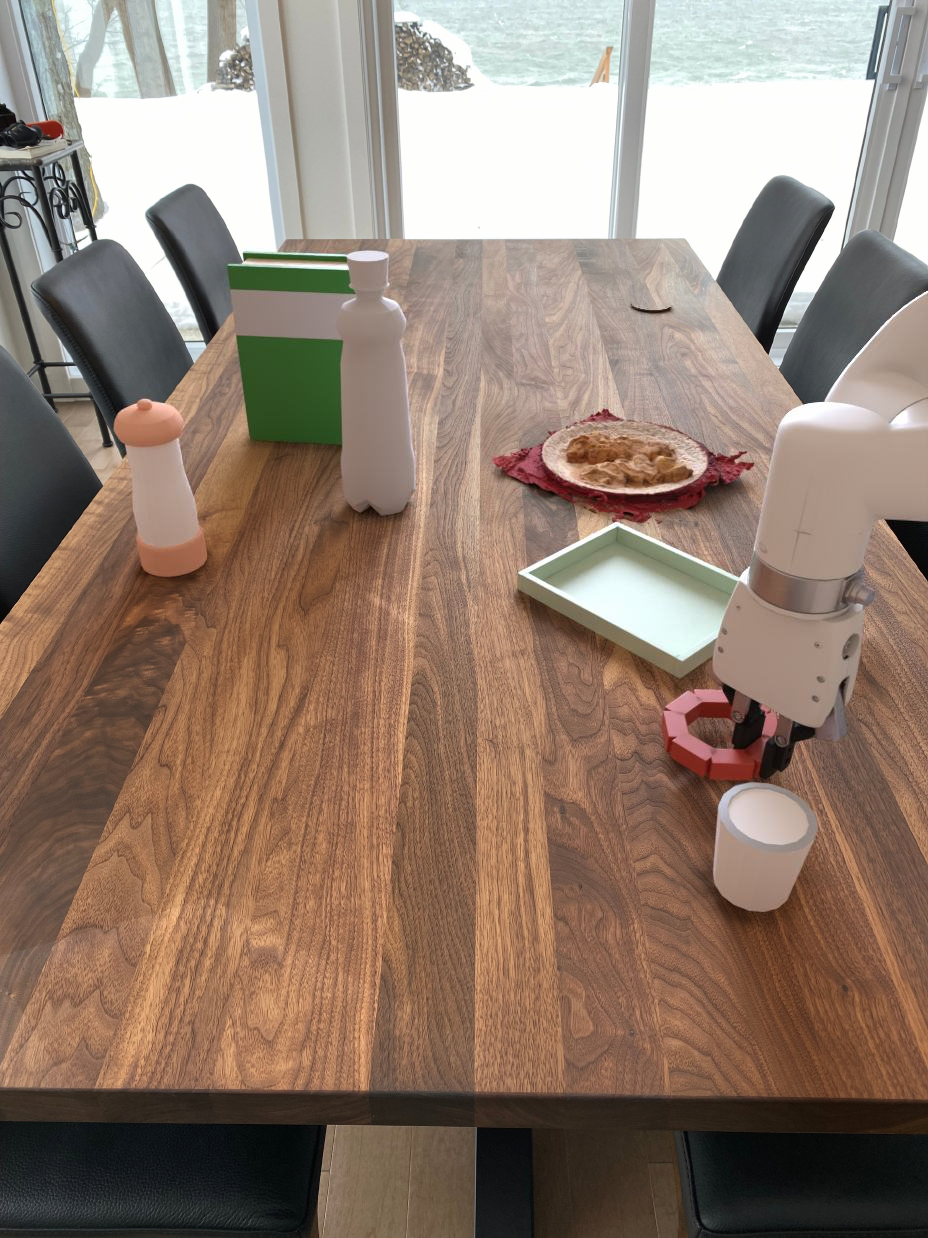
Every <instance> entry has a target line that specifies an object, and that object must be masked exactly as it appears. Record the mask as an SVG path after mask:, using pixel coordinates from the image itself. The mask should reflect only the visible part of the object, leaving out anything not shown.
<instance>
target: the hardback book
mask: <svg viewBox="0 0 928 1238" xmlns="http://www.w3.org/2000/svg"><path fill="white" fill-rule="evenodd" d="M347 255H348V254H341V253H339V254H338V253H315V252H314V253H312V252H311V253H309V252H286V251H285V252H284V251H281V252H280V251H259V250H258V251H257V250H256V251H254V250H244V251H243V252H242V258H243V259H242V261H243V262H241V263H228V264H227V265H226V269H227V276H228V277H227V278H228V285H229V292H230V299H231V300H230V301H231V305H232V306H231V307H232V316H233V322H234V329H235V337H236V346H237V353H238V362H239V369H240V376H241V383H242V393H243V398H244V399H243V400H244V407H245V414H246V415H245V416H246V422H247V429H248V439H249V441H266V442H283V443H284V442H285V443H300V444H301V443H302V444H318V445H319V444H323V445H335V446H337V445H338V446H342V408H341V356H342V349H343V340H342V339H341V337H340V335H339V334H338V330H337V327H336V323H335V322H336V320H337V317H338V314H339V312H340V309H341V307H342V305H343V303H345V302H347V301H350V300H352V299H354V298H356V297H357V295H356V293H355V291H354V289H352V288H350V287H349V284H350V283H351V281H350V274H349V268H348V262H347Z"/></svg>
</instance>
